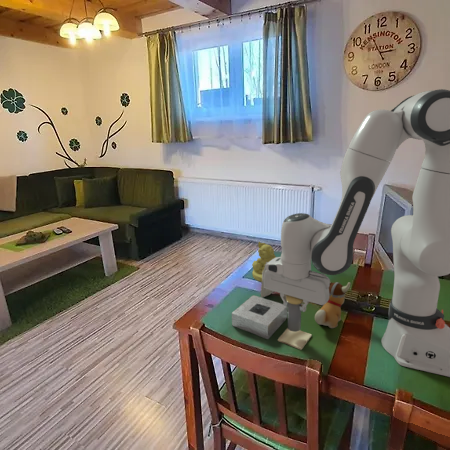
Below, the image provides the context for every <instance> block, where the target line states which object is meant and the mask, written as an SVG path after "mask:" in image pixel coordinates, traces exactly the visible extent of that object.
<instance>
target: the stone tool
mask: <svg viewBox="0 0 450 450" xmlns="http://www.w3.org/2000/svg"><path fill="white" fill-rule="evenodd" d="M267 263H268V262H266V264H267ZM266 264H265V268H264V270H263V272H262V282H261V285H260V297H261V298H265V297H268V296H270V295H271V294H274V293H276V292H275V291H272V290H268V289H266V288H265V287H264V273H265V271H266Z"/></svg>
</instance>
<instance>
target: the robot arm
mask: <svg viewBox="0 0 450 450" xmlns="http://www.w3.org/2000/svg"><path fill="white" fill-rule="evenodd" d="M409 139H413V140H422V141H423V143H424V146H425V147H424V149H425V152H424V158H423V160H422V163H421V166H420V170H419V173H418V176H417V180H416V183H415V185H414V189H413V193H412V199H411V200H412V205H413V206H412V207H413V208H412V209H413V210H412V214H409V215H408V214H407V215H406V214H405V215H403V216H401V217H399V218H396V220H395V221H394V222H393V223H392V225H391V228H390V234H391V239H392V256H393V259H392V260H393V267H394V268H393V270H394V272H393V273H394V274H393V275H394V281H393V291H392V298H391V300H390V302H389V307H388V314H387V315H388V322H387V326H386V329H385V331H384V334H383V336H382V337H381V340H380V341H381V345H382V348H383V349H385V351H386V352H387V353H389V354H390V356H392V357H393V358H394V359H395V361H396V363H398V365H400V366H403V367H407V368H410V369H414V370H418V371H419V370H420V371H424V372H427V373H432V374H436V375H440V376H445V377H448V378H450V327H449V325H448V324H446V322H445V314H444V309H441V310H439V309H438V303H439V301H438V300H439V295H440V290H441V283H440V279H439V277H442V276H448V275H449V274H450V90H449V89H442V88H441V89H435V90H433V89H432V90H426V91H422V92H419V93H417V94H415V95H414V94H413V95H411V96H409V97H407V98H405V99H404V100H402V101H401V102H400V103H399V104H397V105H396V106H395V107H394V108H392V109H391V110H389V109H375V110H372V111H371V112H369V113H367V114H366V115H365V117H364V118H363V120H362V122H361V123H360V124H359V126H358V127H357V130H356V131H355V132H354V134H353V137H352V138H351V140H350V143H349V145H348V147H347V149H346V152H345V154H344V157H343V160H342V163H341V168H340V172H339V174H340V180H341V188H342V191H341V200H340V204H339V207H338V209H337V211H336V214H335V217H334V219H333V221H332V224H330V223H326V222H323V221H319V220H317V219H316V218H314V217H313V216H311V214H309V213H305V212H304V213H303V212H301V213H300V212H299V213H293V214H291V215H288V216H287V217H286V218H284V219H283V222H282V225H281V231H280V246H281V254H280V256H276V258H274V259H272V260H271V261H269V262H268V263H267V264H266V271H265V273H264V287H265V288H266V289H268V290H272V291H275V292H274V293H279V296H280V298H281V300H282V301H283V303H282V304H283V305H284V306H287V308H288V302H287V301H286V295H289V296H292V297H295V298H299V299H302V300H303V303H301V305H300V311H301V313H302V312H303V313H305V312H306V311H307V306H308V304H309V303H312V304H317V305H320V306H323V305H324V304H326V303H327V302H328V300H329V286H330V282H331V279H330V278H329V277H328V276H335V275H340V274H342V273H344V272H347V270H348V269H349V268H350V267H351V265H352V264H353V259H354V244H355V240H356V237H357V235H358V233H359V230H360V228H361V226H362V223H363V222H364V218H365V216H366V214H367V211H368V209H369V207H370V205H371V201H372V199H373V197H374V195H375V193H376V191H377V190H378V187H379V185H380V184H381V182H382V180H383V178H384V176H385V174H386V173H387V170H388V168H389V167H390V164H391V162H392V160H393V158H394V156H395V154H396V152H397V150H398V149H399V148H400V146H401V145H402V144H403V143H404V142H405V141H407V140H409ZM312 265H313V267H314V268H315V269H316V270H317V271H318V272H316V271H314V270H312ZM325 275H326V276H325ZM327 275H328V276H327ZM325 277H326V278H325Z"/></svg>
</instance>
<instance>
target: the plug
mask: <svg viewBox="0 0 450 450" xmlns="http://www.w3.org/2000/svg"><path fill="white" fill-rule="evenodd" d="M286 301H287V302H288V307H287V328H288V329H289V330H290V331H294V332H297V331H299V330H300V331H301V327H302V326H301V325H302V324H301V323H302V311H300V305H301V304H304V302H303V300H302V299H299V298H295V297H292V296H289V295H286Z"/></svg>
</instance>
